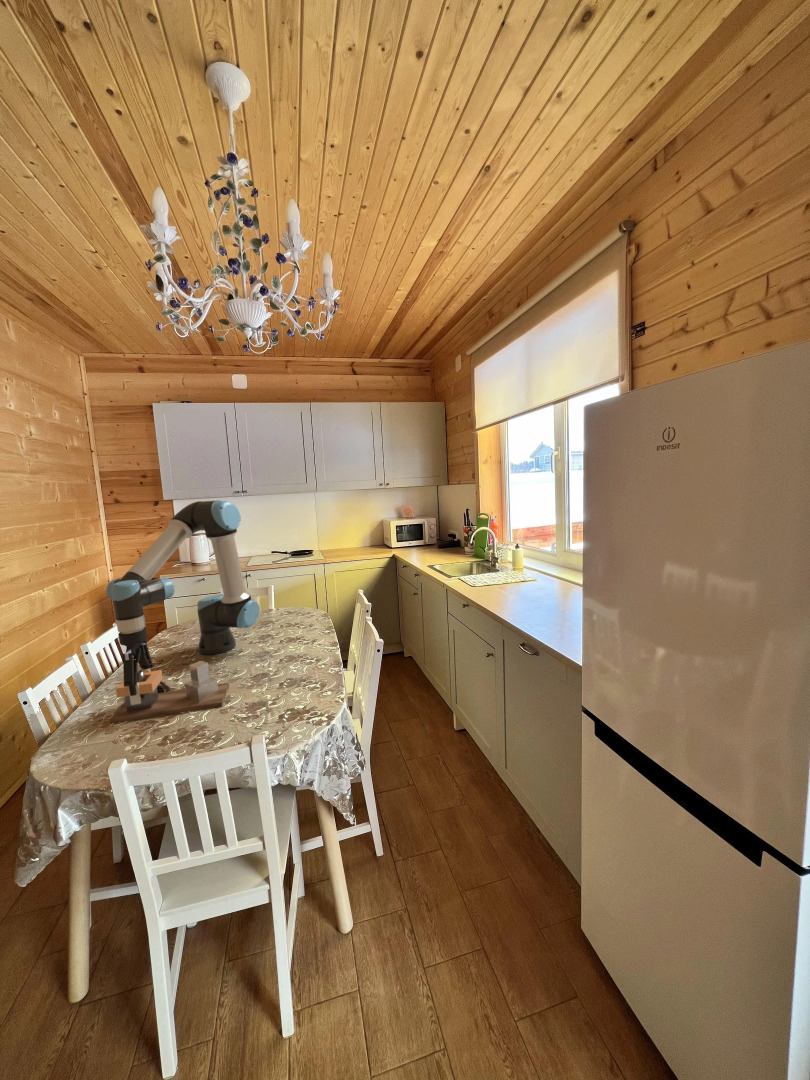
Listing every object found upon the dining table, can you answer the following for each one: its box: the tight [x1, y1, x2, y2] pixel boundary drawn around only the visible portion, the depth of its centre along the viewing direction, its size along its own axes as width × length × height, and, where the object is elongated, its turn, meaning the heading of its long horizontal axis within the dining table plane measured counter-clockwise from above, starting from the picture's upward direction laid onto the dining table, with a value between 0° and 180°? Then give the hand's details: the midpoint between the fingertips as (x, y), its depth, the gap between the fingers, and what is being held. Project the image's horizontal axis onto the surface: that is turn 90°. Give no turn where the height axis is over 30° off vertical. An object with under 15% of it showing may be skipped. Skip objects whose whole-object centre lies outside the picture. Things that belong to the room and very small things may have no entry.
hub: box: [184, 660, 219, 703], centre depth 145 cm, size 7×7×11 cm
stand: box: [124, 669, 158, 712], centre depth 141 cm, size 7×7×11 cm
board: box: [109, 682, 230, 725], centre depth 144 cm, size 14×32×2 cm, turn 103°
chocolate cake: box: [157, 680, 171, 693], centre depth 155 cm, size 10×7×12 cm
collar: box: [115, 669, 164, 698], centre depth 141 cm, size 10×10×3 cm
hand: (142, 695), depth 142 cm, fingers closed on collar, 10 cm apart
